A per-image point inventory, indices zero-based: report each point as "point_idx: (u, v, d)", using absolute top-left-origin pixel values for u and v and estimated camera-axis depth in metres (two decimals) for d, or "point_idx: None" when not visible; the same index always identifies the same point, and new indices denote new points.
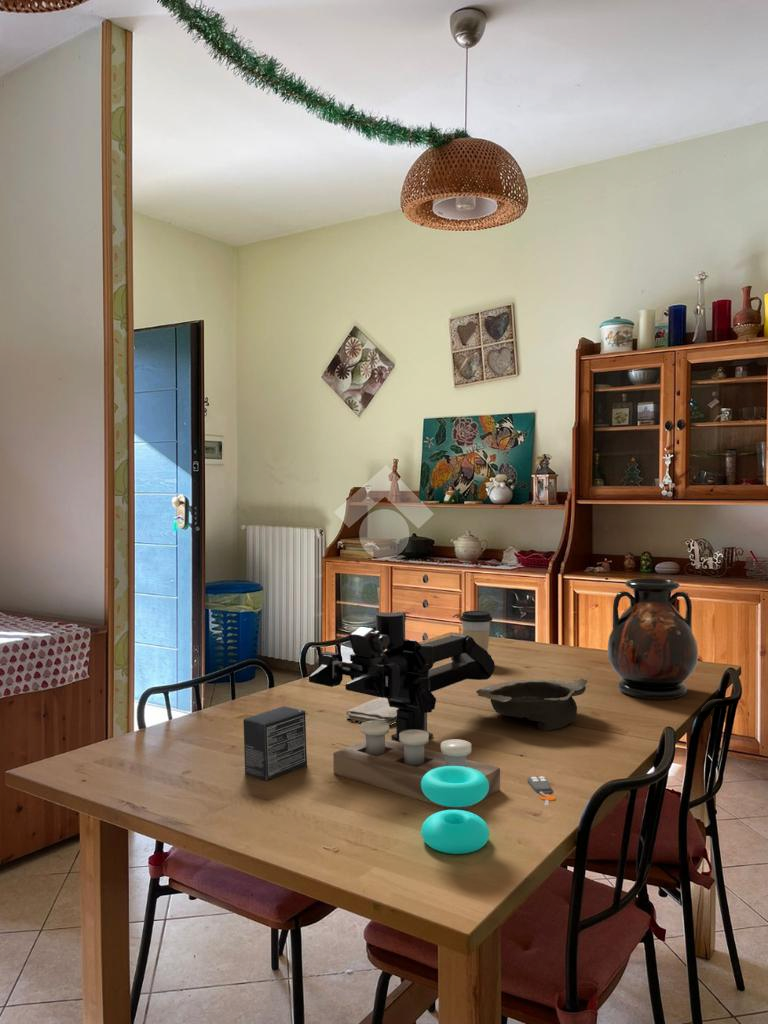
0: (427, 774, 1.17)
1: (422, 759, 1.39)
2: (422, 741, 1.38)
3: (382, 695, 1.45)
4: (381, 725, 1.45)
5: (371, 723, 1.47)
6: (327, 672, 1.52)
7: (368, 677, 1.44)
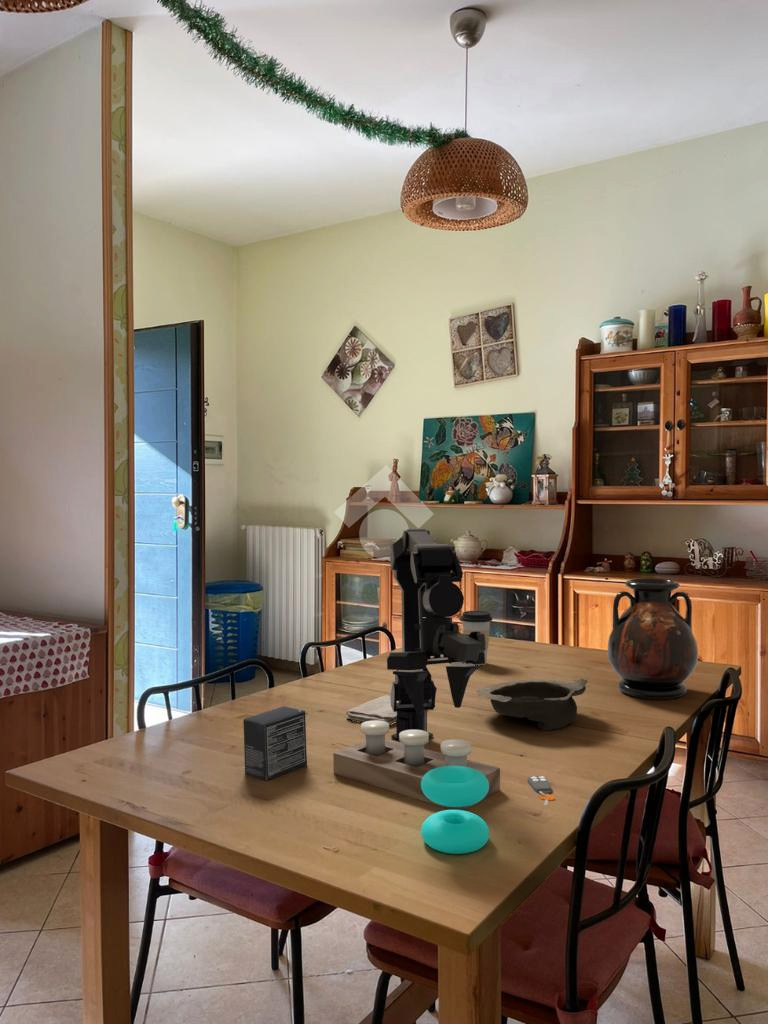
0: (427, 774, 1.17)
1: (422, 759, 1.39)
2: (422, 741, 1.38)
3: None
4: (381, 725, 1.45)
5: (371, 723, 1.47)
6: None
7: None
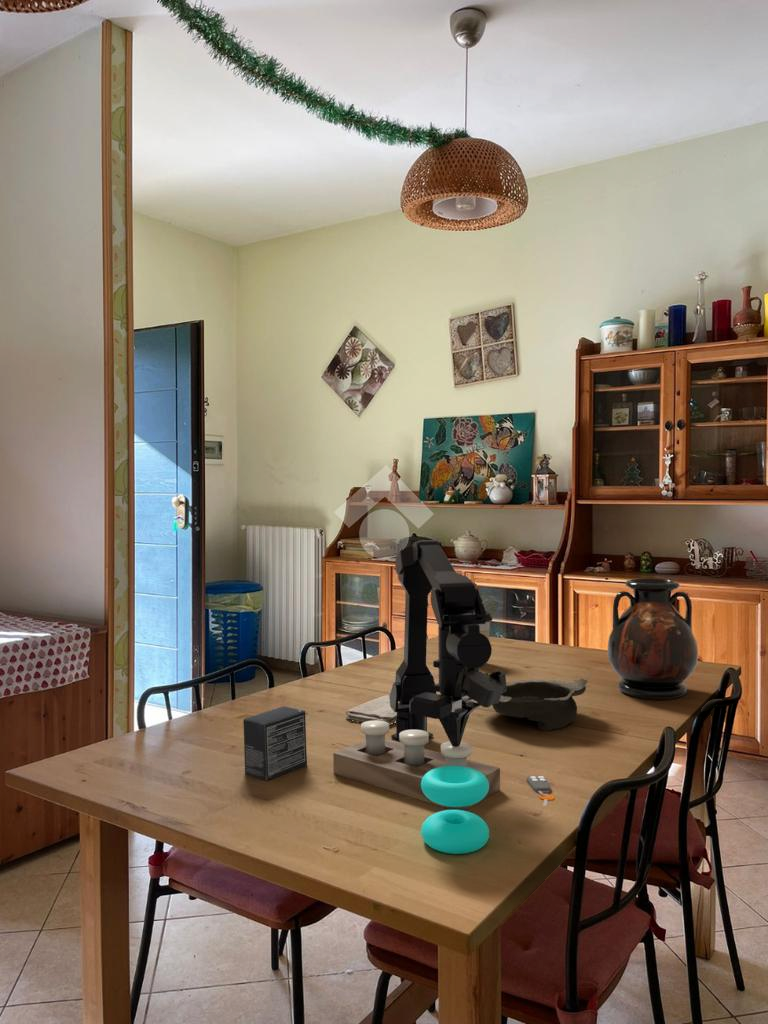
0: (427, 774, 1.17)
1: (422, 759, 1.39)
2: (422, 741, 1.38)
3: None
4: (381, 725, 1.45)
5: (371, 723, 1.47)
6: None
7: None
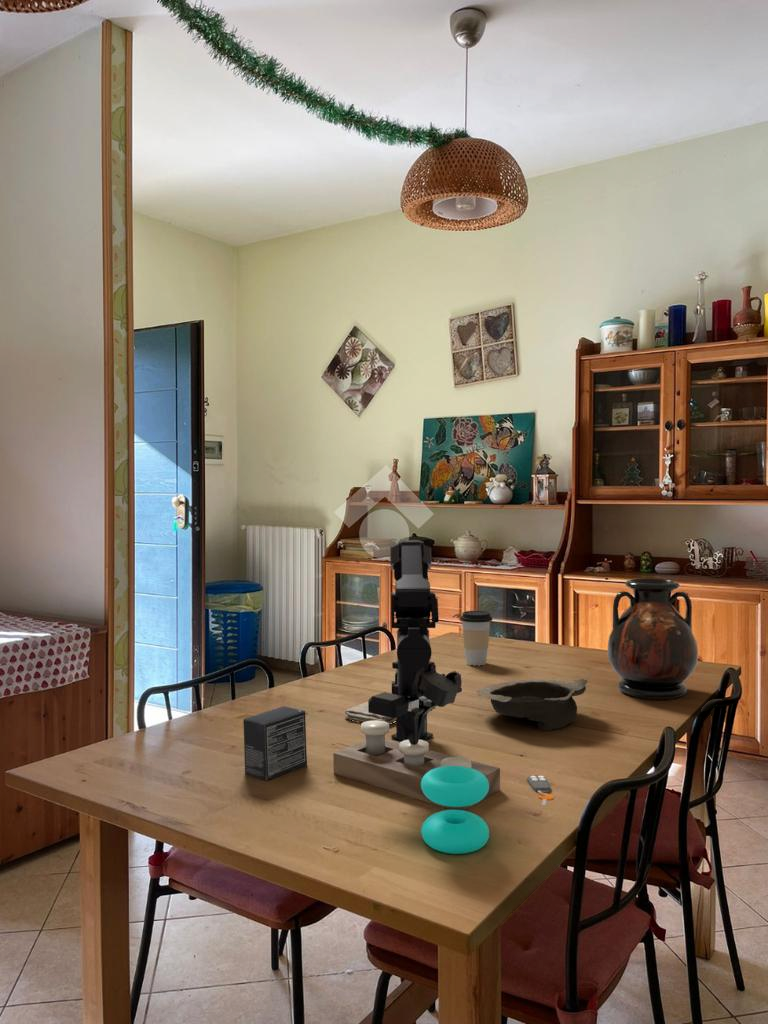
0: (427, 774, 1.17)
1: None
2: (422, 751, 1.38)
3: None
4: (381, 725, 1.45)
5: (371, 723, 1.47)
6: None
7: None
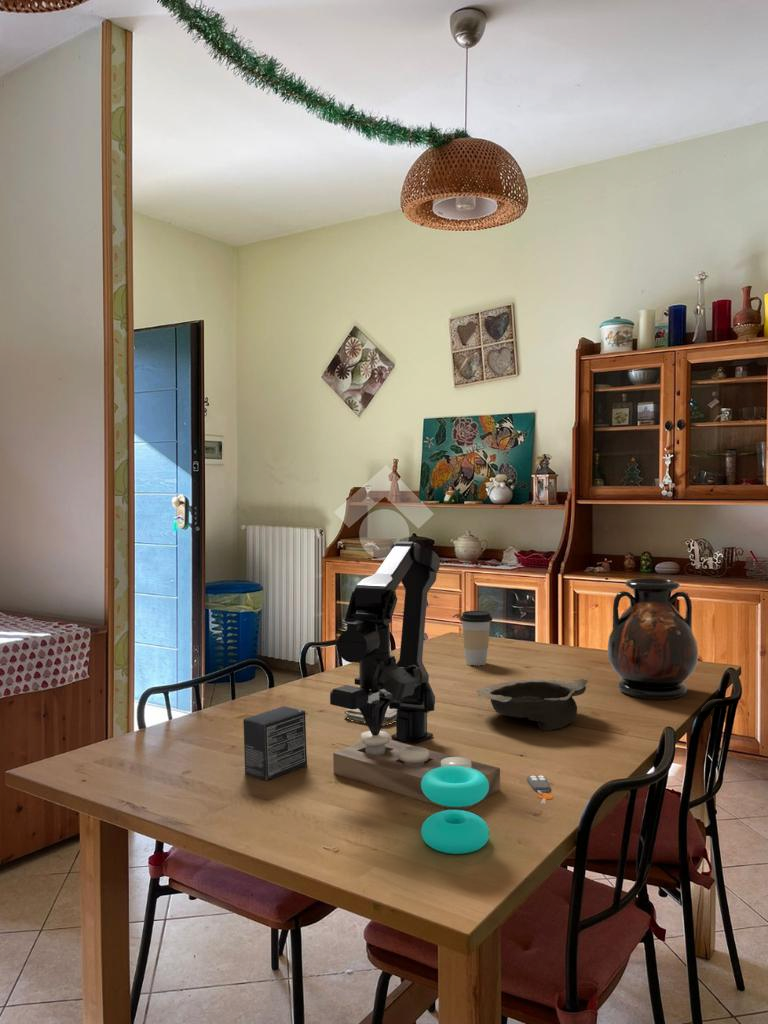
0: (427, 774, 1.17)
1: None
2: (422, 758, 1.38)
3: None
4: (381, 736, 1.45)
5: None
6: None
7: None
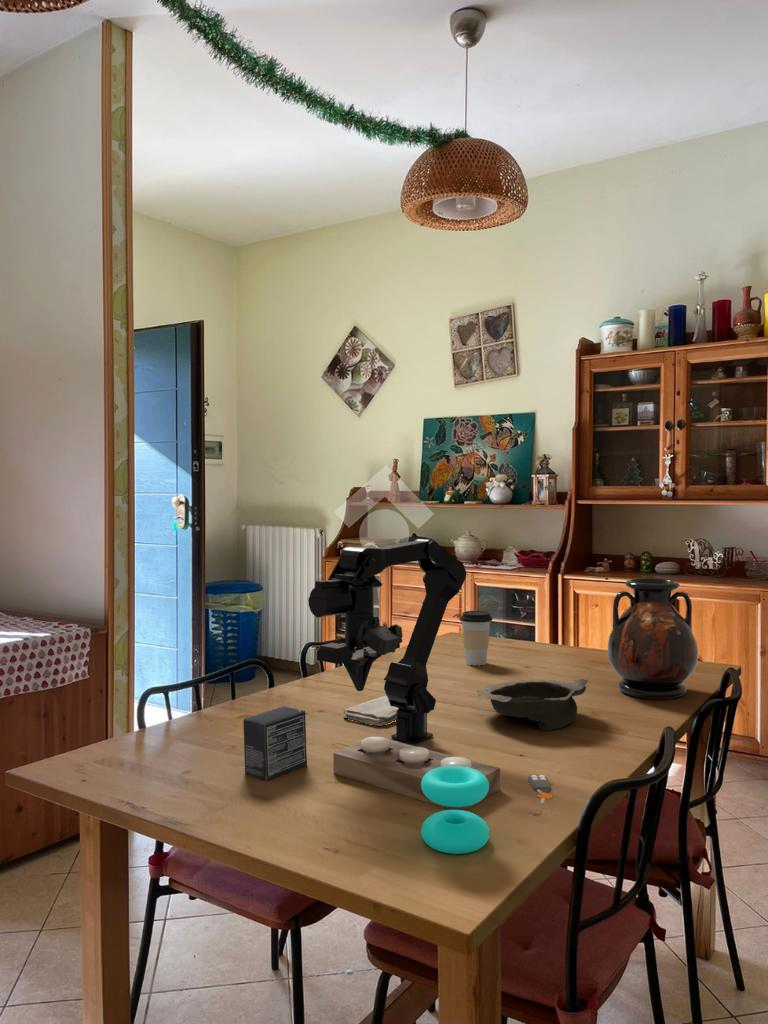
0: (427, 774, 1.17)
1: None
2: (422, 758, 1.38)
3: None
4: (381, 742, 1.45)
5: (371, 740, 1.47)
6: None
7: (369, 667, 1.55)
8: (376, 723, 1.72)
